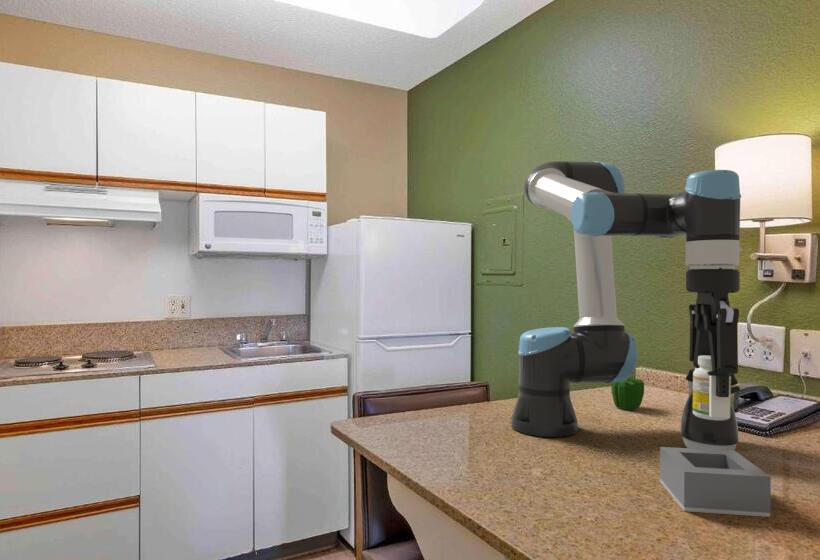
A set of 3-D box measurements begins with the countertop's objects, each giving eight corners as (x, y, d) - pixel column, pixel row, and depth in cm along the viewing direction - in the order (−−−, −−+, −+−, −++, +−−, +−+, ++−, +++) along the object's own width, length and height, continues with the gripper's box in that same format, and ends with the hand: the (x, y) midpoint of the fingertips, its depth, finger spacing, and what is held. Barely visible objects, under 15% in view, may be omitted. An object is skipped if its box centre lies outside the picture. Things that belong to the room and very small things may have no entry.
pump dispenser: (739, 468, 99) (740, 386, 99) (677, 457, 105) (678, 380, 105) (740, 452, 108) (740, 378, 108) (682, 444, 113) (683, 372, 113)
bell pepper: (615, 403, 150) (615, 367, 150) (646, 407, 145) (646, 370, 145) (606, 409, 143) (607, 372, 143) (639, 414, 138) (639, 375, 138)
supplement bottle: (703, 420, 83) (703, 359, 83) (686, 412, 88) (686, 354, 88) (738, 421, 83) (738, 359, 83) (718, 412, 88) (718, 354, 88)
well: (684, 511, 81) (684, 471, 81) (659, 481, 93) (660, 446, 93) (770, 516, 79) (770, 476, 79) (734, 485, 91) (734, 450, 91)
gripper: (766, 266, 76) (765, 429, 76) (713, 269, 94) (713, 400, 94) (710, 266, 77) (709, 426, 77) (668, 269, 95) (668, 398, 95)
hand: (711, 411), depth 86 cm, fingers closed on supplement bottle, 5 cm apart
